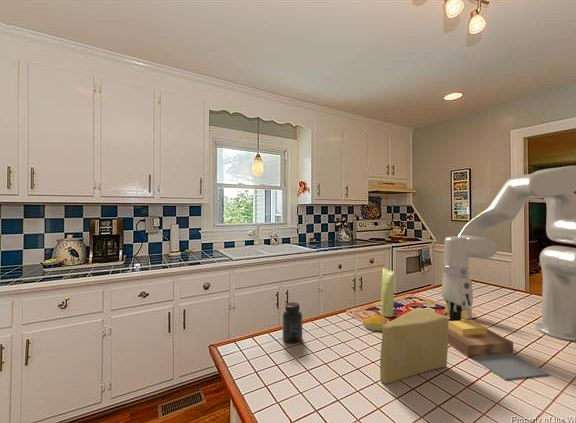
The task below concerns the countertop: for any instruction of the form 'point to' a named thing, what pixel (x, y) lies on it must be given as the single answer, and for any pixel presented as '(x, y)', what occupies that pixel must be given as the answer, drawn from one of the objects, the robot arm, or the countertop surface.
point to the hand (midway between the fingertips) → (455, 321)
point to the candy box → (464, 313)
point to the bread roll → (374, 322)
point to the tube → (387, 293)
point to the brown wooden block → (479, 343)
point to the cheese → (413, 345)
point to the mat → (509, 366)
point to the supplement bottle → (292, 323)
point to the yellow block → (467, 327)
